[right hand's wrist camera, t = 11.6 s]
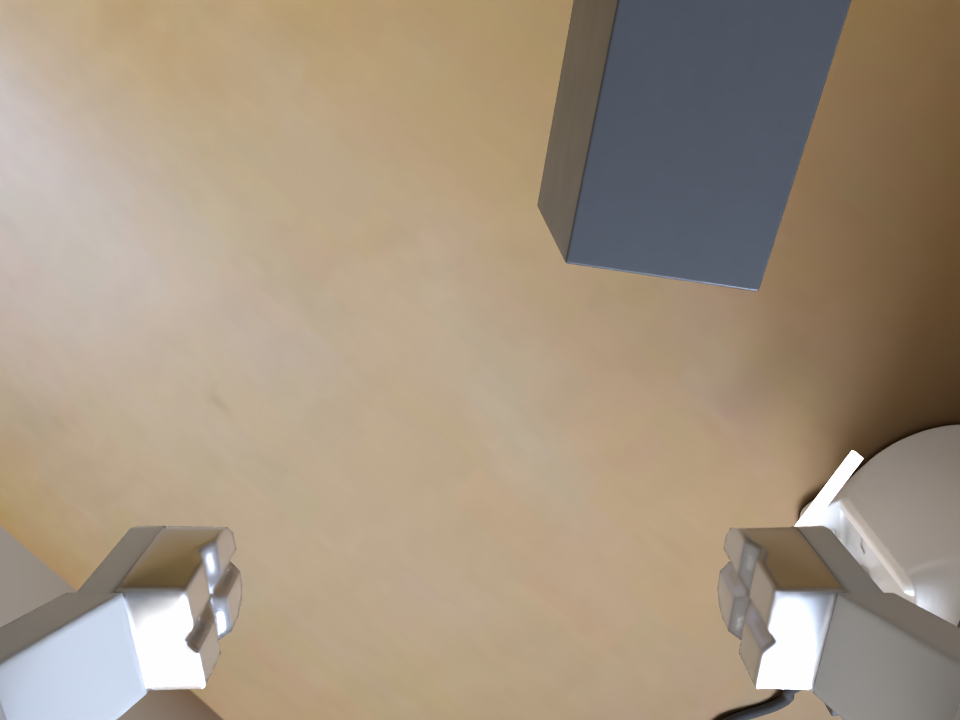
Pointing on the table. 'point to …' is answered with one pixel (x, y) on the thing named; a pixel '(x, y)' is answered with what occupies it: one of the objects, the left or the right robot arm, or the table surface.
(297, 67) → the table surface
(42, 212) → the table surface
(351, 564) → the table surface
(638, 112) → the bar
